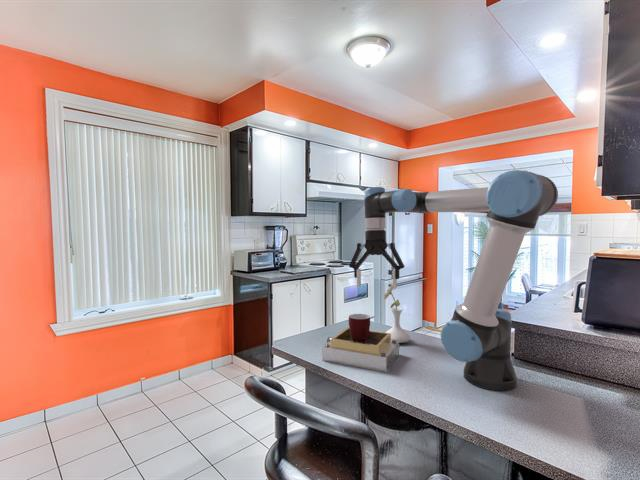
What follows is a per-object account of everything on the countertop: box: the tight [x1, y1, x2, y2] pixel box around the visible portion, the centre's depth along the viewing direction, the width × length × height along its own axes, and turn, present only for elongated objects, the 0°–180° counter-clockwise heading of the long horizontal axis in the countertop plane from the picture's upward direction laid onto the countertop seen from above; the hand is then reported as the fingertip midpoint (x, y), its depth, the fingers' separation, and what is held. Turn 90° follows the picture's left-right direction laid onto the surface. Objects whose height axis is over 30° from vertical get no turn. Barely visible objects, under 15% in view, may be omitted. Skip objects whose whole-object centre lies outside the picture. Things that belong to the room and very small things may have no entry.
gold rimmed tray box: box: [321, 327, 400, 373], centre depth 129 cm, size 28×18×8 cm, turn 63°
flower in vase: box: [382, 283, 411, 344], centre depth 145 cm, size 13×11×25 cm
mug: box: [348, 313, 371, 343], centre depth 128 cm, size 10×8×10 cm
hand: (376, 287), depth 126 cm, fingers open, 13 cm apart
